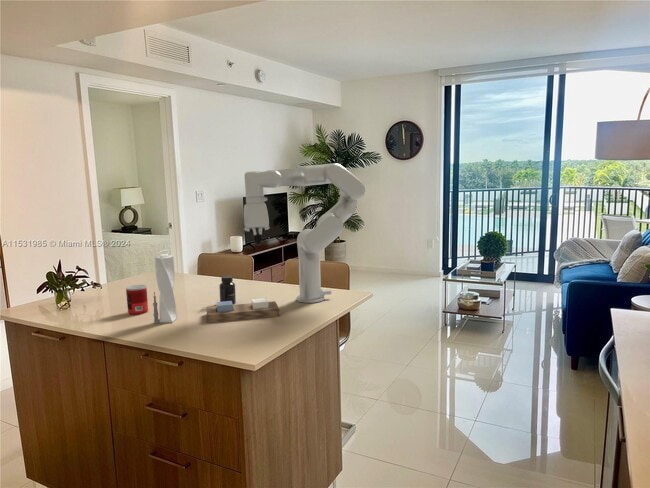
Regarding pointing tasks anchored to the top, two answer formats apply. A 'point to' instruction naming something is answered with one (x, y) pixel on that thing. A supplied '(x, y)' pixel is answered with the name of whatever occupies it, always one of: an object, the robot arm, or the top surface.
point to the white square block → (259, 303)
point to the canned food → (137, 299)
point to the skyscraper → (165, 289)
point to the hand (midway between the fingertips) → (258, 243)
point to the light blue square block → (224, 306)
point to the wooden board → (242, 312)
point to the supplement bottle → (227, 289)
